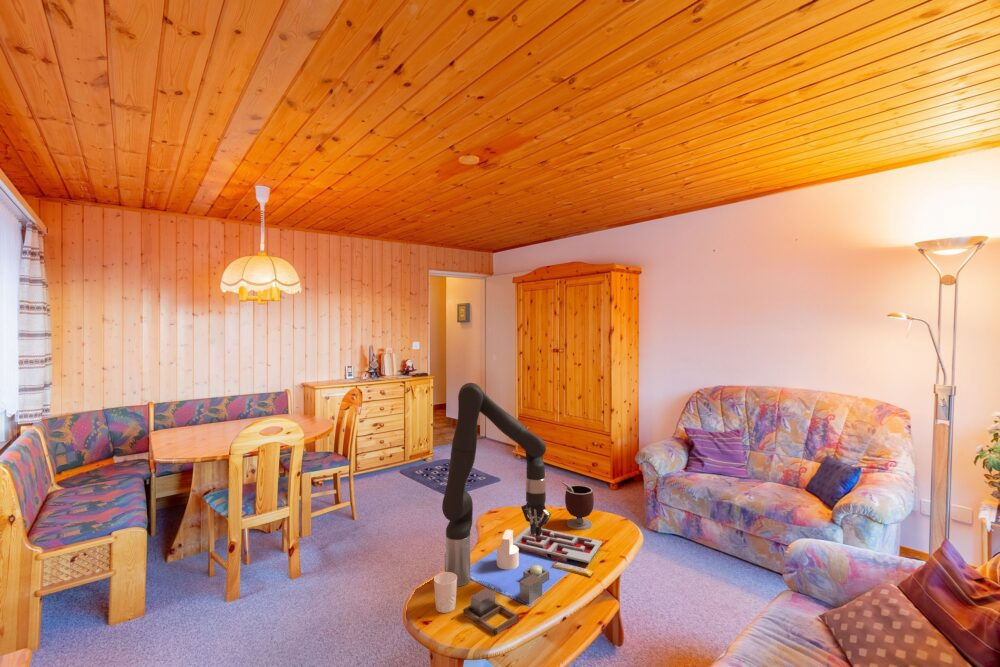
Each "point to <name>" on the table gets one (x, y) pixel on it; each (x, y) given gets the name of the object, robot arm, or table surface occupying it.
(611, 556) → the table surface
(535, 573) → the button
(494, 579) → the table surface
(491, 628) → the frame
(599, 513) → the table surface
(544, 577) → the button housing
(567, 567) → the candy bar
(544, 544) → the maze game
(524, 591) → the block
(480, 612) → the seated billet
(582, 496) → the mate gourd
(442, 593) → the white cup
